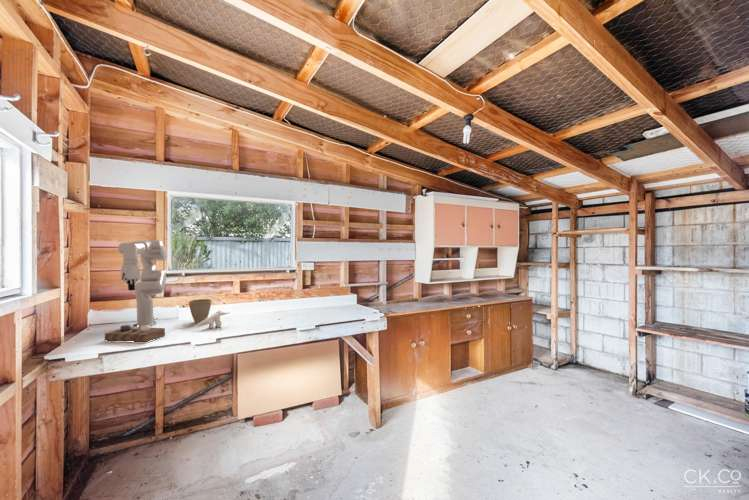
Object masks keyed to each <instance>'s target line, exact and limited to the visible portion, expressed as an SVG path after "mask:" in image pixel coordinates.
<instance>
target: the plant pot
mask: <svg viewBox="0 0 749 500" xmlns="http://www.w3.org/2000/svg"><path fill="white" fill-rule="evenodd" d="M188 305H189V310H190V315H191V317H192V319H193V321H194V323H196V324H198V323H200V322H202V321H203V320H205V319H206V318H209V314H210V310H211V306H212V299H210V298H209V299H208V298H207V299H206V298H205V299H204V298H202V299H193V300H189V301H188Z"/></svg>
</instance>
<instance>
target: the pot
mask: <svg viewBox="0 0 749 500" xmlns="http://www.w3.org/2000/svg"><path fill="white" fill-rule="evenodd" d="M131 327H132V331H138V330H139V328H138V324H137V323H134V324H133V325H132V326H131Z"/></svg>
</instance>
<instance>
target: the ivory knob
mask: <svg viewBox="0 0 749 500" xmlns="http://www.w3.org/2000/svg"><path fill="white" fill-rule="evenodd" d="M150 328H151V326H150V325H145V326H141V332H148V331H150Z"/></svg>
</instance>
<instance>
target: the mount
mask: <svg viewBox="0 0 749 500" xmlns="http://www.w3.org/2000/svg"><path fill="white" fill-rule="evenodd" d="M138 328H139V330H138V331H132V326H130V330H129V331H123V332H122V331H121V328H118V329H116V330H112V331H108V332H105V333H104V341H105V340H107V341H134V342H148V341H150V340H153V339H156V340H158V339H161V338H163V337H165V336H166V328H165V327H150V331H148V332H141V327H138ZM160 337H161V338H160ZM157 338H158V339H157ZM153 341H154V340H153ZM150 342H151V341H150ZM148 343H149V342H148Z"/></svg>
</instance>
